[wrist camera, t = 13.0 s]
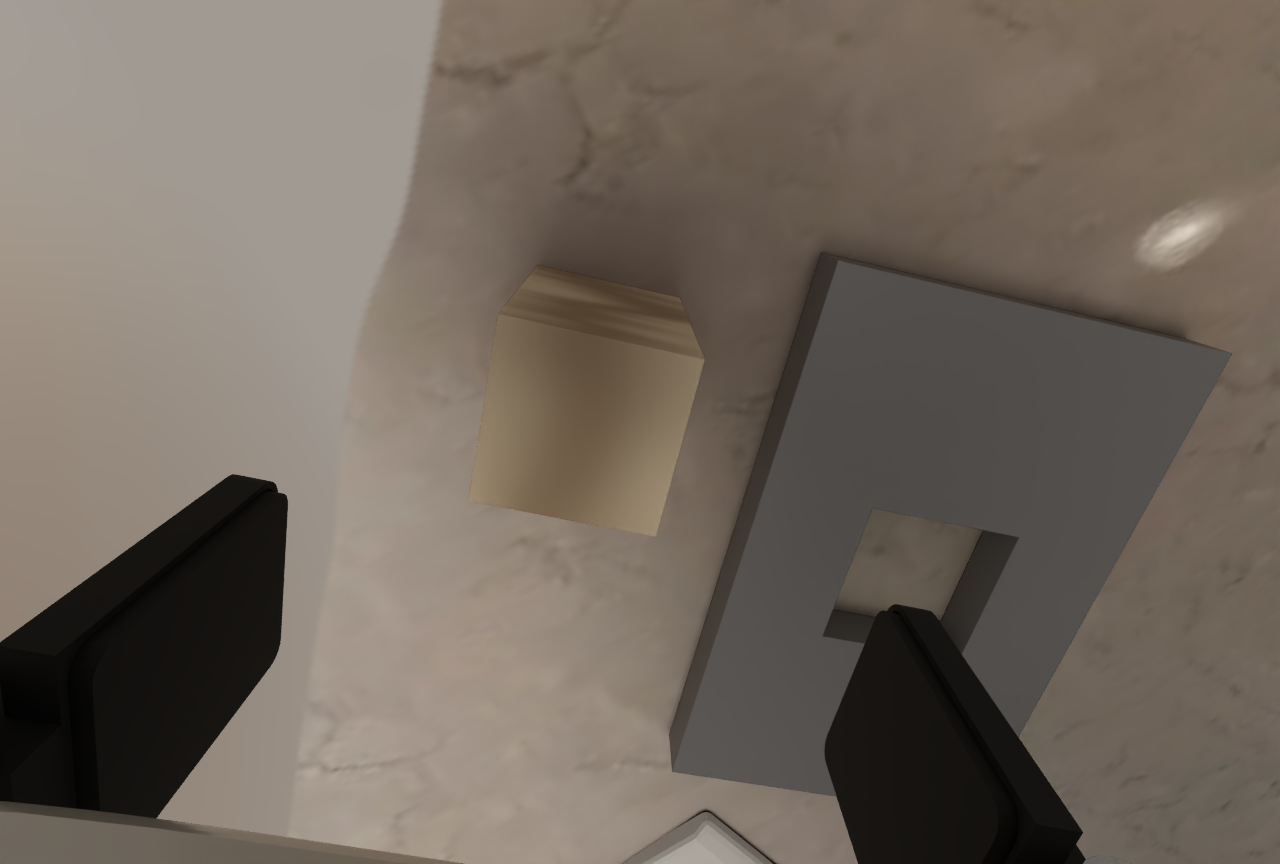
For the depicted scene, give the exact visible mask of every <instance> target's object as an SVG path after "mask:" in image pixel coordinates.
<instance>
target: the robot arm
mask: <svg viewBox="0 0 1280 864" xmlns="http://www.w3.org/2000/svg"><path fill="white" fill-rule="evenodd" d="M287 511H288V500H287V496H286V495H285V494H282V493H278V490H277V486H276V484H275V483H274V482H271V481H266V480H261V479H256V478H251V477H245V476H240V475H233V474H232V475H230V476H228V477H227V478H225V479H224V480H223V481H222V482H220V483H219V484H217V485H216V486H214V487H213V488H212V489H210V490H209V491H207V492H206V493H205V494H203V495H202V496H201V497H199V498H198V499H196V500H195V501H194V502H192V503H191V504H190V505H188V506H187V507H186V508H184V509H183V510H181V511H180V512H179V513H177V514H176V515H175V516H173V517H172V518H170V519H169V520H168V521H166V522H165V523H164V524H162V525H161V526H159V527H158V528H157V529H155V530H154V531H152V532H151V533H150V534H148V535H147V536H146V537H144V538H143V539H141V540H140V541H139V542H137V543H136V544H135V545H133V546H132V547H130V548H129V549H128V550H126V551H125V552H124V553H122V554H121V555H120V556H118V557H117V558H115V559H114V560H113V561H111V562H110V563H109V564H107V565H106V566H104V567H103V568H102V569H100V570H99V571H98V572H96V573H95V574H93V575H92V576H91V577H89V578H88V579H87V580H85V581H84V582H82V583H81V584H80V585H78V586H77V587H76V588H74V589H73V590H71V591H70V592H69V593H67V594H66V595H65V596H63V597H62V598H60V599H59V600H58V601H57V602H55V603H54V604H52V605H51V606H50V607H48V608H47V609H45V610H44V611H43V612H41V613H40V614H38V615H37V616H36V617H34V618H33V619H32V620H30V621H29V622H27V623H26V624H25V625H24V626H22V627H21V628H19V629H18V630H16V631H15V632H14V633H12V634H11V635H10V636H8V637H7V638H5V639H4V640H3V641H1V642H0V864H463V863H456V862H450V861H443V860H437V859H430V858H423V857H417V856H410V855H403V854H397V853H390V852H383V851H376V850H370V849H363V848H356V847H350V846H343V845H336V844H330V843H323V842H316V841H310V840H303V839H296V838H289V837H283V836H276V835H269V834H262V833H256V832H249V831H242V830H236V829H229V828H221V827H214V826H207V825H199V824H192V823H185V822H177V821H170V820H162V819H156V818H157V817H158V815H159V814H160V813H161V811H162V810H163V809H164V807H165V806H166V805H167V803H168V802H169V801H170V799H171V798H172V797H173V795H174V794H175V793H176V791H177V790H178V789H179V787H180V786H181V785H182V783H183V782H184V781H185V779H186V778H187V777H188V775H189V774H190V773H191V771H192V770H193V769H194V767H195V766H196V765H197V763H198V762H199V761H200V759H201V758H202V757H203V755H204V754H205V753H206V751H207V750H208V749H209V747H210V746H211V745H212V744H213V742H214V741H215V740H216V738H217V737H218V736H219V734H220V733H221V731H222V730H223V729H224V728H225V726H226V725H227V724H228V722H229V721H230V720H231V718H232V717H233V716H234V714H235V713H236V712H237V710H238V709H239V708H240V706H241V705H242V703H243V702H244V701H245V700H246V698H247V697H248V696H249V694H250V693H251V692H252V690H253V689H254V688H255V686H256V685H257V684H258V682H259V681H260V680H261V678H262V677H263V676H264V674H265V673H266V672H267V670H268V669H269V668H270V666H271V665H272V663H273V661H274V659H275V657H276V655H277V652H278V650H279V646H280V641H281V625H282V606H283V586H284V567H285V549H286V529H287ZM824 754H825V761H826V765H827V768H828V771H829V774H830V778H831V781H832V784H833V787H834V790H835V793H836V796H837V799H838V802H839V805H840V809H841V812H842V815H843V818H844V821H845V824H846V827H847V830H848V833H849V836H850V840H851V843H852V846H853V849H854V852H855V855H856V858H857V861H858V864H1131V863H1128V862H1125V861H1122V860H1119V859H1116V858H1114V857H1105V856H1095V857H1092V858H1089V859H1087V860H1086V859H1085V857H1084V856H1083V854H1082V853H1081V851H1080V850H1079V848H1078V847H1077V845H1076V843H1077V842H1078V840H1079V838H1080V837H1081V835H1082V833H1083V832H1082V830H1081V829H1080V827H1079V826H1078V824H1077V823H1076V821H1075V820H1074V818H1073V817H1072V815H1071V814H1070V812H1069V811H1068V810H1067V808H1066V807H1065V805H1064V804H1063V802H1062V801H1061V799H1060V798H1059V796H1058V795H1057V793H1056V792H1055V790H1054V789H1053V788H1052V786H1051V785H1050V783H1049V782H1048V780H1047V779H1046V777H1045V776H1044V774H1043V773H1042V771H1041V770H1040V768H1039V767H1038V766H1037V764H1036V763H1035V761H1034V760H1033V758H1032V757H1031V755H1030V754H1029V752H1028V751H1027V749H1026V748H1025V747H1024V745H1023V744H1022V742H1021V741H1020V739H1019V738H1018V736H1017V735H1016V733H1015V732H1014V730H1013V729H1012V727H1011V726H1010V725H1009V723H1008V722H1007V720H1006V719H1005V717H1004V716H1003V714H1002V713H1001V711H1000V710H999V708H998V707H997V705H996V704H995V703H994V701H993V700H992V698H991V697H990V695H989V694H988V692H987V691H986V689H985V688H984V686H983V685H982V683H981V682H980V681H979V679H978V678H977V676H976V675H975V673H974V672H973V670H972V669H971V667H970V666H969V664H968V663H967V661H966V660H965V659H964V657H963V656H962V654H961V653H960V651H959V650H958V648H957V647H956V645H955V644H954V642H953V641H952V639H951V638H950V637H949V635H948V634H947V632H946V631H945V629H944V628H943V626H942V625H941V623H940V622H939V620H938V619H937V617H936V616H935V615H934V614H933V613H932V612H931V611H928V610H923V609H918V608H913V607H908V606H903V605H898V604H895V605H892V606H891V607H890V608H889V609H888V611H881V612H879V613H878V614H877V616H876V618H875V620H874V622H873V625H872V627H871V630H870V632H869V635H868V637H867V639H866V642H865V644H864V647H863V649H862V652H861V654H860V657H859V659H858V661H857V664H856V666H855V669H854V671H853V674H852V676H851V678H850V681H849V683H848V686H847V688H846V691H845V693H844V696H843V698H842V700H841V703H840V705H839V708H838V710H837V713H836V715H835V717H834V720H833V722H832V725H831V727H830V730H829V732H828V734H827V737H826V741H825V749H824Z"/></svg>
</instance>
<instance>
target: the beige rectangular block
mask: <svg viewBox="0 0 1280 864" xmlns="http://www.w3.org/2000/svg"><path fill="white" fill-rule="evenodd" d="M704 361H705V359H704V356H703V354H702V352H701V349H700V347H699V344H698V342H697V339H696V337H695V335H694V332H693V330H692V327H691V325H690V322H689V320H688V317H687V315H686V313H685V310H684V308H683V305H682V303H681V300H680V298H678V297H674V296H670V295H665V294H661V293H657V292H652V291H648V290H644V289H639V288H635V287H631V286H626V285H622V284H618V283H614V282H609V281H605V280H601V279H596V278H592V277H588V276H583V275H579V274H575V273H570V272H566V271H562V270H557V269H553V268H549V267H544V266H540V265H537V267H536V268H535V269H534V270H533V272H532V273H531V274H530V275H529V277H528V278H527V279H526V280H525V281H524V283H523V284H522V285H521V286H520V288H519V289H518V290H517V291H516V293H515V294H514V295H513V296H512V297H511V299H510V300H509V301H508V302H507V304H506V305H505V306H504V307H503V308H502V310H501V311H500V312H499V313H498V318H497V324H496V331H495V337H494V343H493V349H492V356H491V362H490V368H489V375H488V381H487V387H486V393H485V400H484V406H483V412H482V419H481V425H480V431H479V437H478V444H477V450H476V456H475V463H474V469H473V475H472V481H471V488H470V494H469V500H468V501H473V502H478V503H483V504H488V505H493V506H499V507H504V508H509V509H514V510H519V511H525V512H530V513H535V514H540V515H545V516H550V517H556V518H561V519H566V520H571V521H576V522H582V523H587V524H592V525H597V526H602V527H607V528H613V529H618V530H623V531H628V532H633V533H639V534H644V535H649V536H654V537H656V535H657V531H658V527H659V524H660V520H661V516H662V513H663V509H664V506H665V502H666V498H667V495H668V491H669V488H670V484H671V480H672V477H673V473H674V470H675V466H676V462H677V459H678V455H679V452H680V448H681V444H682V441H683V437H684V433H685V430H686V426H687V423H688V419H689V415H690V412H691V408H692V405H693V401H694V397H695V394H696V390H697V387H698V383H699V379H700V376H701V372H702V368H703V365H704Z"/></svg>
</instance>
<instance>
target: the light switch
mask: <svg viewBox="0 0 1280 864" xmlns="http://www.w3.org/2000/svg"><path fill="white" fill-rule="evenodd" d="M623 864H773V863H771V862H770V861H769V860H768V859H766V858H765V857H764V856H763V855H762V854H760V853H759V852H758V851H757V850H755V849H754V848H753V847H752V846H750V845H749V844H748V843H747V842H745V841H744V840H743V839H742V838H740V837H739V836H738V835H737V834H736V833H734V832H733V831H732V830H731V829H729V828H728V827H727V826H726V825H724V824H723V823H722V822H721V821H719V820H718V819H717V818H716V817H714V816H713V815H712V814H711V813H708V812H704V813H701V814H699V815H698V816H696V817H694V818H693V819H691V820H689V821H687V822H686V823H684V824H682V825H681V826H679V827H677V828H676V829H674V830H672V831H671V832H669V833H668V834H666V835H665V836H663V837H662V838H660V839H659V840H657V841H656V842H654V843H653V844H651V845H650V846H648V847H647V848H645V849H644V850H642V851H641V852H639V853H638V854H636V855H635V856H633V857H632V858H630V859H629V860H627V861H626V862H624V863H623Z"/></svg>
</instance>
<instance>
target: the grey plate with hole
mask: <svg viewBox="0 0 1280 864" xmlns="http://www.w3.org/2000/svg"><path fill="white" fill-rule="evenodd" d="M1231 355H1232V353H1229V352H1226V351H1223V350H1219V349H1216V348H1213V347H1210V346H1207V345H1204V344H1200V343H1197V342H1194V341H1191V340H1188V339H1184V338H1180V337H1175V336H1171V335H1167V334H1163V333H1159V332H1154V331H1150V330H1146V329H1142V328H1137V327H1133V326H1129V325H1125V324H1121V323H1116V322H1112V321H1108V320H1104V319H1099V318H1095V317H1091V316H1087V315H1083V314H1078V313H1074V312H1070V311H1066V310H1061V309H1057V308H1053V307H1049V306H1044V305H1040V304H1036V303H1032V302H1028V301H1023V300H1019V299H1015V298H1011V297H1006V296H1002V295H998V294H994V293H990V292H985V291H981V290H977V289H973V288H968V287H964V286H960V285H956V284H951V283H947V282H943V281H939V280H935V279H930V278H926V277H922V276H918V275H913V274H909V273H905V272H901V271H897V270H892V269H888V268H884V267H880V266H875V265H871V264H867V263H863V262H859V261H854V260H850V259H846V258H842V257H837V256H833V255H829V254H825V253H821V255H820V258H819V262H818V265H817V268H816V271H815V274H814V277H813V281H812V284H811V287H810V290H809V293H808V296H807V300H806V303H805V306H804V309H803V312H802V315H801V319H800V322H799V325H798V328H797V331H796V335H795V338H794V341H793V344H792V347H791V350H790V354H789V357H788V360H787V363H786V366H785V369H784V373H783V376H782V379H781V382H780V385H779V388H778V392H777V395H776V398H775V401H774V404H773V408H772V411H771V414H770V417H769V420H768V423H767V427H766V430H765V433H764V436H763V439H762V442H761V446H760V449H759V452H758V455H757V458H756V461H755V465H754V468H753V471H752V474H751V477H750V481H749V484H748V487H747V490H746V493H745V496H744V500H743V503H742V506H741V509H740V512H739V515H738V519H737V522H736V525H735V528H734V531H733V534H732V538H731V541H730V544H729V547H728V550H727V554H726V557H725V560H724V563H723V566H722V569H721V573H720V576H719V579H718V582H717V585H716V588H715V592H714V595H713V598H712V601H711V604H710V607H709V611H708V614H707V617H706V620H705V623H704V627H703V630H702V633H701V636H700V639H699V642H698V646H697V649H696V652H695V655H694V658H693V661H692V665H691V668H690V671H689V674H688V677H687V680H686V684H685V687H684V690H683V693H682V696H681V700H680V703H679V706H678V709H677V712H676V715H675V719H674V722H673V725H672V728H671V731H670V734H669V739H670V751H671V763H672V772H677V773H684V774H691V775H697V776H704V777H711V778H717V779H724V780H730V781H737V782H744V783H750V784H757V785H764V786H770V787H777V788H784V789H790V790H797V791H803V792H810V793H817V794H823V795H830V796H836V793H835V790H834V787H833V784H832V781H831V778H830V774H829V771H828V768H827V765H826V761H825V754H824V749H825V741H826V737H827V734H828V732H829V730H830V727H831V725H832V722H833V720H834V717H835V715H836V713H837V710H838V708H839V705H840V703H841V700H842V698H843V696H844V693H845V691H846V688H847V686H848V683H849V681H850V678H851V676H852V674H853V671H854V669H855V666H856V664H857V661H858V659H859V657H860V654H861V652H862V649H863V647H864V644H865V642H866V639H867V637H868V635H869V632H870V630H871V627H872V625H873V622H874V620H875V618H876V617H870V616H864V615H859V614H853V613H848V612H842V611H837V610H833V608H834V605H835V603H836V600H837V598H838V595H839V593H840V590H841V588H842V585H843V583H844V580H845V577H846V575H847V572H848V570H849V567H850V565H851V562H852V560H853V557H854V555H855V552H856V550H857V547H858V544H859V542H860V539H861V537H862V534H863V532H864V529H865V527H866V524H867V522H868V519H869V517H870V514H871V511H872V509H873V508H874V509H879V510H884V511H889V512H894V513H899V514H904V515H909V516H914V517H919V518H924V519H930V520H935V521H940V522H945V523H950V524H955V525H960V526H965V527H970V528H975V529H980V530H983V533H982V535H981V537H980V539H979V541H978V543H977V545H976V548H975V550H974V552H973V554H972V556H971V558H970V560H969V563H968V565H967V567H966V569H965V571H964V573H963V575H962V578H961V580H960V582H959V584H958V586H957V588H956V590H955V593H954V595H953V597H952V599H951V601H950V603H949V605H948V608H947V610H946V612H945V614H944V616H943V618H942V620H941V625H942V626H943V628H944V629H945V631H946V632H947V634H948V635H949V637H950V638H951V639H952V641H953V642H954V644H955V645H956V647H957V648H958V650H959V651H960V653H961V654H962V656H963V657H964V659H965V660H966V661H967V663H968V664H969V666H970V667H971V669H972V670H973V672H974V673H975V675H976V676H977V678H978V679H979V681H980V682H981V683H982V685H983V686H984V688H985V689H986V691H987V692H988V694H989V695H990V697H991V698H992V700H993V701H994V703H995V704H996V705H997V707H998V708H999V710H1000V711H1001V713H1002V714H1003V716H1004V717H1005V719H1006V720H1007V722H1008V723H1009V725H1010V726H1011V727H1012V729H1013V730H1014V732H1015V733H1016V735H1017V736H1018V737H1019V735H1020V733H1021V732H1022V730H1023V728H1024V726H1025V724H1026V723H1027V721H1028V719H1029V717H1030V715H1031V714H1032V712H1033V710H1034V708H1035V706H1036V705H1037V703H1038V701H1039V699H1040V697H1041V696H1042V694H1043V692H1044V690H1045V688H1046V687H1047V685H1048V683H1049V681H1050V680H1051V678H1052V676H1053V674H1054V672H1055V671H1056V669H1057V667H1058V665H1059V663H1060V662H1061V660H1062V658H1063V656H1064V654H1065V653H1066V651H1067V649H1068V647H1069V645H1070V644H1071V642H1072V640H1073V638H1074V637H1075V635H1076V633H1077V631H1078V629H1079V628H1080V626H1081V624H1082V622H1083V620H1084V619H1085V617H1086V615H1087V613H1088V611H1089V610H1090V608H1091V606H1092V604H1093V602H1094V601H1095V599H1096V597H1097V595H1098V594H1099V592H1100V590H1101V588H1102V586H1103V585H1104V583H1105V581H1106V579H1107V577H1108V576H1109V574H1110V572H1111V570H1112V568H1113V567H1114V565H1115V563H1116V561H1117V559H1118V558H1119V556H1120V554H1121V552H1122V550H1123V549H1124V547H1125V545H1126V543H1127V542H1128V540H1129V538H1130V536H1131V534H1132V533H1133V531H1134V529H1135V527H1136V525H1137V524H1138V522H1139V520H1140V518H1141V516H1142V515H1143V513H1144V511H1145V509H1146V507H1147V506H1148V504H1149V502H1150V500H1151V499H1152V497H1153V495H1154V493H1155V491H1156V490H1157V488H1158V486H1159V484H1160V482H1161V481H1162V479H1163V477H1164V475H1165V473H1166V472H1167V470H1168V468H1169V466H1170V464H1171V463H1172V461H1173V459H1174V457H1175V456H1176V454H1177V452H1178V450H1179V448H1180V447H1181V445H1182V443H1183V441H1184V439H1185V438H1186V436H1187V434H1188V432H1189V430H1190V429H1191V427H1192V425H1193V423H1194V421H1195V420H1196V418H1197V416H1198V414H1199V412H1200V411H1201V409H1202V407H1203V405H1204V404H1205V402H1206V400H1207V398H1208V396H1209V395H1210V393H1211V391H1212V389H1213V387H1214V386H1215V384H1216V382H1217V380H1218V378H1219V377H1220V375H1221V373H1222V371H1223V369H1224V368H1225V366H1226V364H1227V362H1228V361H1229V359H1230V357H1231Z"/></svg>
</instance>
